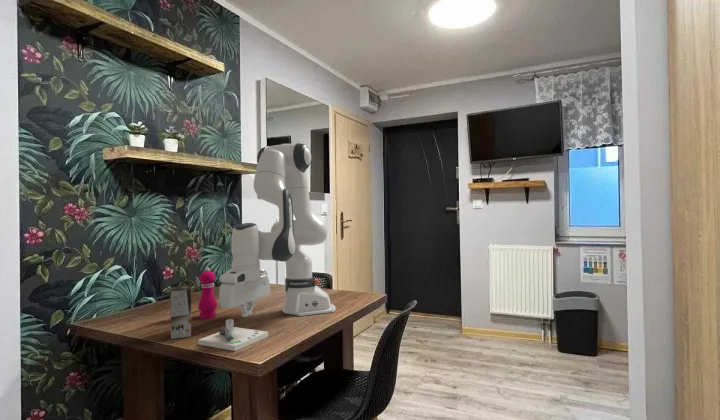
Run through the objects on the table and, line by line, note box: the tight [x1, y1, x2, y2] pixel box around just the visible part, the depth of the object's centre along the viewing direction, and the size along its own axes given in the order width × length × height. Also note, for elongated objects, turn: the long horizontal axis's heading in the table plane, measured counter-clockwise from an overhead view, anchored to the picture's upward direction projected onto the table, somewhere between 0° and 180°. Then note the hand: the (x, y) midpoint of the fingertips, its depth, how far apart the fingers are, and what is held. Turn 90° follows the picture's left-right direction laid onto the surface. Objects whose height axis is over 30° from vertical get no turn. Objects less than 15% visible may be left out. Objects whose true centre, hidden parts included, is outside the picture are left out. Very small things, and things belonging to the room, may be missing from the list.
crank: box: [218, 318, 235, 340], centre depth 125 cm, size 11×4×6 cm, turn 26°
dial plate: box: [197, 326, 269, 352], centre depth 126 cm, size 16×15×2 cm
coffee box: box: [170, 285, 192, 340], centre depth 134 cm, size 9×6×16 cm
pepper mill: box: [197, 267, 218, 320], centre depth 158 cm, size 7×7×20 cm
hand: (247, 315), depth 126 cm, fingers closed
